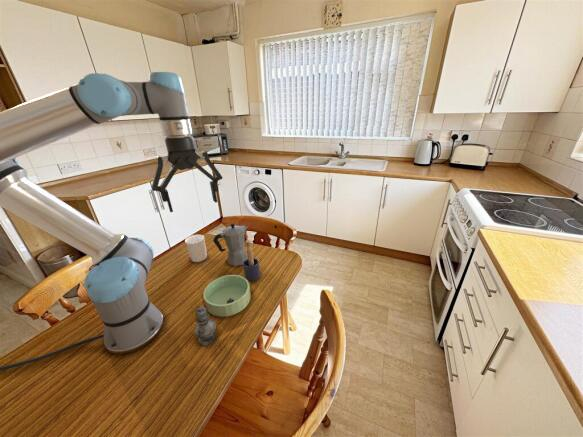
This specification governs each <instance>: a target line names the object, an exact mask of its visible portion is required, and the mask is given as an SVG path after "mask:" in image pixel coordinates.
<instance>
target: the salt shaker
mask: <svg viewBox="0 0 583 437" xmlns="http://www.w3.org/2000/svg"><path fill="white" fill-rule="evenodd" d="M195 316H196V319H195V322H196V324H197V325H196V326H195V328H194V335H195V336H197V341H198V343H199V344H200V345H202V346H208V345H210V344H212V343H213V342H214V341H216V340H217V336H216V328H217V324H216V322H215V321H214V320H212V319H210V318H211V317H210V315H209V314H208V310H207V308H206V306H205V307H204V306H198V307H197V308H196V310H195Z"/></svg>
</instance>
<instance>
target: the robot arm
mask: <svg viewBox="0 0 583 437" xmlns="http://www.w3.org/2000/svg"><path fill="white" fill-rule="evenodd" d="M148 78H149V79H148V81H125V80H122V79H118V78H116V77H115V76H112V75H110V74H107V73H99V72H95V73H94V72H92V73H88V74H86V75H84V76H82V77H81V79H80V80H79V81H78V82H77V83H75V84H73V85H71V86H68V87H65V88H61V89H60V90H57V91H54V92H51V93H49V94H46V95H43V96H41V97H38V98H35V99H32V100H30V101H28V102H24V103H21V104H18V105H16V106H14V107H11V108H8V109H5V110H3V111H0V207H1V208H3V209H5V210H7V211H8V212H10V213H12V214H13V215H15V216H17V217H19V218H21V219H22V220H24V221H26V222H28V223H30V224H32V225H34V226H35V227H37V228H38V229H40V230H42V231H44V232H46V233H48V234H49V235H51V236H53V237H55V238H57V239H58V240H60V241H62V242H64V243H65V244H67V245H69V246H70V247H72V248H75V249H76V250H78V251H80V252H82V253H83V254H85V255H87V256H89V257H90V258H91V261H92V265H93V267H92V268H91V269H90V270H89V271H88V272H87V273H86V276H85V278H84V287H85V291H86V294H87V296H88V298H89V299H90V302H92V305H93V306H94V308H95V310H96V312H97V314H98V316H99V318H100V320H101V322H102V324H103V333H102V334H99V335H95V336H92V337H89V338H86V339H83V340H80V341H78V342H75V343H71V344H70V345H67V346H64V347H63V348H61V349H57V350H54V351H52V352H49V353H46V354H43V355H40V356H37V357H34V358H33V357H32V358H30V359H26V360H22V361H19V362H16V363H15V362H14V363H10V364H7V365H3V366H0V371H4V370H9V369H12V368H17V367H20V366H24V365H27V364H31V363H35V362H37V361H41V360H44V359H46V358H49V357H53V356H55V355H58V354H60V353H63V352H66V351H68V350H70V349H73V348H76V347H78V346H80V345H81V346H82V345H83V344H86V343H88V342H89V343H90V342H93V341H96V340H98V339H102V338H103V345H104V346H105V348H106V350H107V351H108V352H109V353H111V354H113V355H127V354H131V353H134V352H137V351H139V350H141V349H142V348H144V347H145V346H147V345H149V344H150V343H151V342H152V341H154V340H155V339H156V338H157V337H158V336H159V334H160V333H161V331H162V330H163V327H164V324H165V319H164V316H163V312H161V311H160V309H159V308H158V307H156V305H154V304H153V303H152V302H151V301H150V299H149V296H148V293H147V290H146V286H145V284H146V281H147V279H148V276H149V273H150V270H151V268H152V266H153V263H154V254H155V253H154V250H153V247H152V245H151V244H150V243H149V242H148V241H147V240H145V239H142V238H140V237H130V236H127V234H124V233H116V234H115V233H113V232H112V231H110V230H108V229H107V228H106V227H105V226H102V225H101V224H99V223H97V222H96V221H94V220H93V219H91V218H90V217H89V216H87V215H85V214H83V213H82V212H80V211H79V210H78V209H76V208H74V207H72V206H71V205H69V204H68V203H66V202H64V201H63V200H62V199H60V198H58V197H57V196H55V195H54V194H52V193H51V192H49V191H47V190H46V189H45V188H43V187H42V186H40V185H38V184H37V183H35V182H33V181H32V180H30V179H29V177H28V171H27V169H25V168H23V167H22V166H20V165H19V162H18V160H16V158H19V157H21V156H24V155H25V154H29V153H31V152H33V151H35V150H39V149H41V148H43V147H46V146H48V145H50V144H53V143H56V142H58V141H60V140H63V139H66V138H68V137H71V136H73V135H76V134H78V133H80V132H82V131H85V130H88V129H91V128H93V127H95V126H98V125H101V124H104V123H107V122H108V121H111V120H114V119H116V118H119V117H125V116H140V115H142V116H143V115H158V119H159V123H160V127H161V131H162V136H164V137H165V138H164V142H165V148H166V152H167V156H160V155H157V156H156V161H157V162H156V163H157V165H156V168H155V172H154V176H153V180H152V183H151V189H152V191H153V192H159V193H160V197H161V200H162V202H163V203H167V206H168V209H169V213H173V212H174V210H173V206H172V202H171V198H170V195H169V191H168V189H167V187H168V186H169V184H170V182H171V180H172V179H173V177H174V175H175V174H176V173H177V171H178V170H180V171H185V170H191V169H193V168H195V169H197V170H198V171H200V172H201V173H202V174H203V175H205V176H206V177H207V178H208V179H209V180H211V181H209V185H210V191H211V196H212V201H213V202H214V203H218V197H217V192H219V184H218V182H219V181H220V180H223V175H222V174H221V173H220V172H219V170H218V168H216V166H215V165H214V163H213V161H211V159H210V157H209V154H208V152H207V151H206V150H202V151H200V152H197V150H196V145H195V140H194V139H195V138H194V137H193V136H192V134H193V129H192V125H191V121H190V115H189V111H188V110H189V109H188V104H187V100H186V94H185V90H184V86H183V83H182V78H181V76H180V75H179V74H177V73H176V72H172V71H171V72H170V71H153V72H150V73H148ZM199 157H200V159H202V160H204V162H205V163H206V164H207V166H208V167H209V168H210V170H211V171H212V173H213V174H214V175H215V176H213V175H212V174H211V173H210V172H208V171H207V169H205V168H204V167H203V166H202V165H200V164H199V163H197V161H198V160H199ZM167 161H168V163H170V164H171V166H170V168H169V170H168V172H167V173H166V175H165V177H164V178H163V180H162V182H161V184H160V180H161V176H162V173H163V169H164V165H166V163H167ZM159 184H160V185H159Z"/></svg>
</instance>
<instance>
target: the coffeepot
mask: <svg viewBox="0 0 583 437" xmlns="http://www.w3.org/2000/svg"><path fill="white" fill-rule="evenodd" d="M248 228H249V227H248V226H247V225H236V224H235V223H230V226H227V227H225V228H224V229H223V230H221V231H222V232H220V233H218V234H216V235H215V236H214V237H213V243H214V244H215V245H216V247H217V248H218V250H219V252H221V253H222V252H225V251H226V248H223V246H222V245H221V244H220V241H219V239H224V241H225V245H226V247H227V264H228V265H230V266H233V267H237V266H243V262H244V261H245V260H246V259H248V255H247V249H246V246H245V235H246V234H245V233H246V231H247V229H248Z"/></svg>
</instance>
